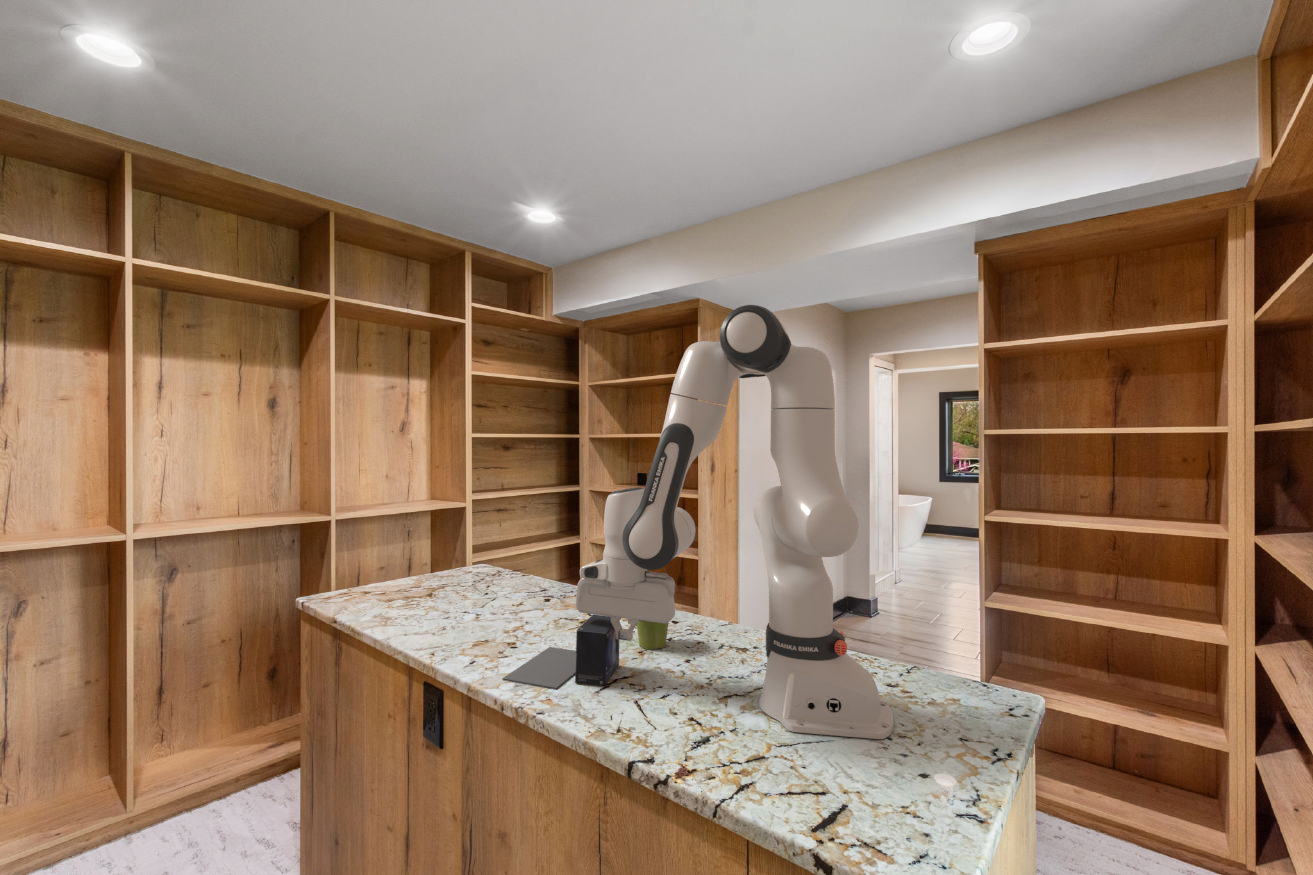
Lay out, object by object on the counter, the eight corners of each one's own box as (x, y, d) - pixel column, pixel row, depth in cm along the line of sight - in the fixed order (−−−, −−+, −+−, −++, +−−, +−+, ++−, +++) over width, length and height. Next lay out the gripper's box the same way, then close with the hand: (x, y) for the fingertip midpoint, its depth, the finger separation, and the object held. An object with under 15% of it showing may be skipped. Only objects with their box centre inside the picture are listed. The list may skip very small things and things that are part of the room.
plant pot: (626, 650, 127) (626, 612, 127) (638, 636, 137) (638, 600, 137) (667, 654, 125) (667, 615, 125) (676, 640, 134) (676, 603, 134)
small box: (606, 687, 109) (606, 632, 109) (574, 684, 110) (574, 630, 110) (621, 665, 119) (621, 615, 119) (591, 663, 120) (591, 613, 120)
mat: (597, 655, 124) (597, 654, 124) (556, 689, 108) (556, 687, 108) (549, 648, 129) (549, 646, 129) (502, 679, 112) (502, 678, 112)
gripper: (680, 570, 112) (679, 640, 112) (586, 561, 119) (585, 627, 119) (670, 578, 106) (669, 652, 106) (572, 568, 113) (571, 637, 113)
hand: (624, 639), depth 113 cm, fingers closed
